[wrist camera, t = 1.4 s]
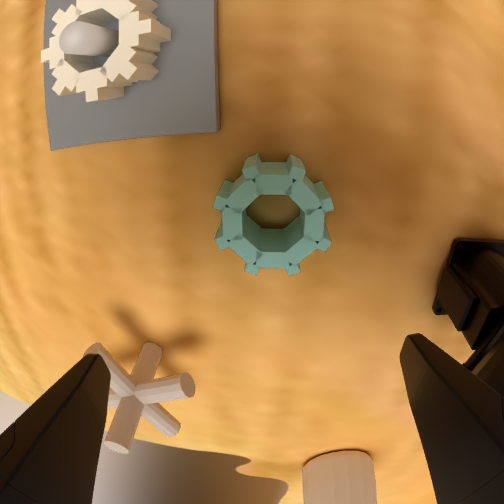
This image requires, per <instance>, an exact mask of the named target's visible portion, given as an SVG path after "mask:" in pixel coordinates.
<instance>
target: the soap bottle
mask: <svg viewBox="0 0 504 504" xmlns="http://www.w3.org/2000/svg"><path fill="white" fill-rule="evenodd" d="M302 474H303V498H304V504H377V496H376V480H375V473H374V467H373V461H372V459H371V457H370V456H369V455H368V454H366V453H364V452H360V451H338V452H331V453H328V454H324V455H320V456H318V457H316V458H314V459H312V460H310V461H309V462H308V463H307V464H306V465H305V466H304V467H303V470H302Z"/></svg>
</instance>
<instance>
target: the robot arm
mask: <svg viewBox="0 0 504 504" xmlns="http://www.w3.org/2000/svg"><path fill="white" fill-rule="evenodd" d="M459 244H460V246H459V247H458V245H459ZM457 247H458V248H457ZM438 308H439V309H438ZM432 309H433V312H434V313H435V314H436V315H445V314H448V315H449V317H450V319H451V320H452V322H453V324H454V326H455V327H456V329H457V330H458V331H462V333H463V335H464V337H465V338H466V340H467V342H468V344H469V345H470V347H471V349H472V350H475V351H474V353H473V354H472V355H471V356H470V358H469V359H468V360H467V361H466V362H465V363H463V364H462V365H461V364H460V363H459V362H458V361H456V360H455V359H454V358H452V357H451V356H450V355H448V354H447V353H446V352H444V351H443V350H442V349H440V348H439V347H438V346H436V345H435V344H434V343H432V342H431V341H430V340H428V339H427V338H426V337H424V336H423V335H422V334H420V333H416V334H410V335H407V336H406V338H405V341H404V344H403V347H402V350H401V352H400V363H401V367H402V372H403V376H404V380H405V385H406V390H407V395H408V399H409V403H410V407H411V410H412V413H413V416H414V420H415V423H416V426H417V429H418V432H419V436H420V439H421V443H422V446H423V450H424V453H425V457H426V460H427V464H428V468H429V471H430V475H431V479H432V483H433V487H434V491H435V496H436V500H437V504H504V240H486V239H466V238H458V239H456V240H455V241H454V242H453V244H452V248H451V251H450V255H449V258H448V262H447V265H446V268H445V270H444V274H443V277H442V280H441V283H440V286H439V289H438V292H437V296H436V299H435V302H434V305H433V308H432ZM110 381H111V373H110V370H109V368H108V367H107V365H106V363H105V361H104V359H103V357H102V356H101V355H100V354H95V353H88V354H86V355H85V356H84V357H83V358H82V359H81V360H80V361H79V362H78V363H76V364H75V365H74V366H73V367H72V368H71V369H70V370H69V371H68V372H67V373H65V374H64V375H63V376H62V377H61V378H60V379H59V380H58V381H57V382H56V383H55V384H54V385H52V386H51V387H50V388H49V389H48V390H47V391H46V392H45V393H44V394H43V395H42V396H41V397H40V398H39V399H37V400H36V401H35V402H34V403H33V404H32V405H31V406H30V407H29V408H28V409H27V410H26V411H25V412H24V413H23V414H22V415H21V416H20V417H19V418H17V419H16V421H15V422H13V423H12V424H11V425H10V426H9V427H8V428H7V429H6V430H5V431H4V432H3V433H2V434H1V435H0V504H92V498H93V491H94V484H95V477H96V471H97V465H98V459H99V453H100V448H101V443H102V438H103V433H104V428H105V423H106V416H107V407H108V398H109V389H110Z"/></svg>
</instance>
